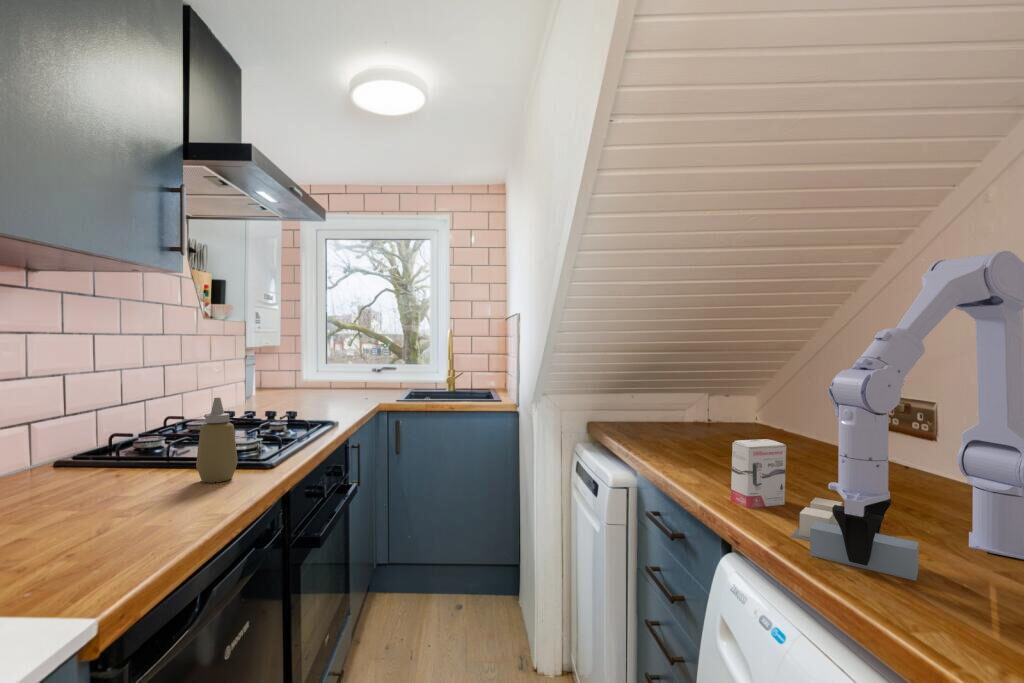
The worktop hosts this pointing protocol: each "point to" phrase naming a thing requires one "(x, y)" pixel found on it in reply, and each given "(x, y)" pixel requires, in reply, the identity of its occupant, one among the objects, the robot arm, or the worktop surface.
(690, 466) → the worktop surface
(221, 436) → the squeeze bottle
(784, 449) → the ink box
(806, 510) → the post
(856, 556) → the robot arm
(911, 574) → the lintel
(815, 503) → the post
